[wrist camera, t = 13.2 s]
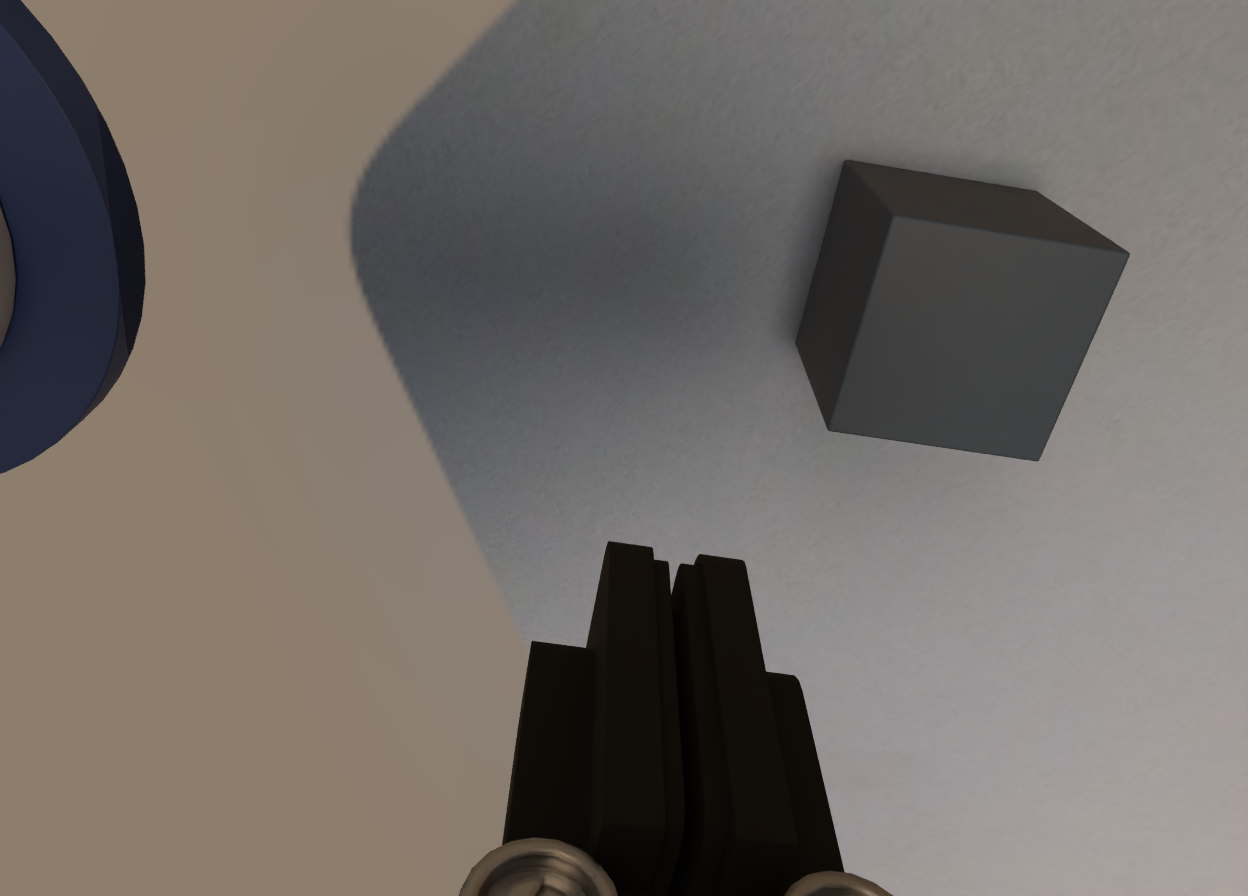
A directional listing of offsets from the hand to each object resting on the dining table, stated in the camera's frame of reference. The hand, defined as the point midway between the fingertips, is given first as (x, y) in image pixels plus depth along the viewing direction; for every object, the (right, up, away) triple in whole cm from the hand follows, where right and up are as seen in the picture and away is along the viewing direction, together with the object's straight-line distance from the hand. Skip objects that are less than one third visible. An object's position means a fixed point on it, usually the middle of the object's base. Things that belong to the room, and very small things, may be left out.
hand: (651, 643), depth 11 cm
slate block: (+7, +7, +13) cm, 16 cm away
